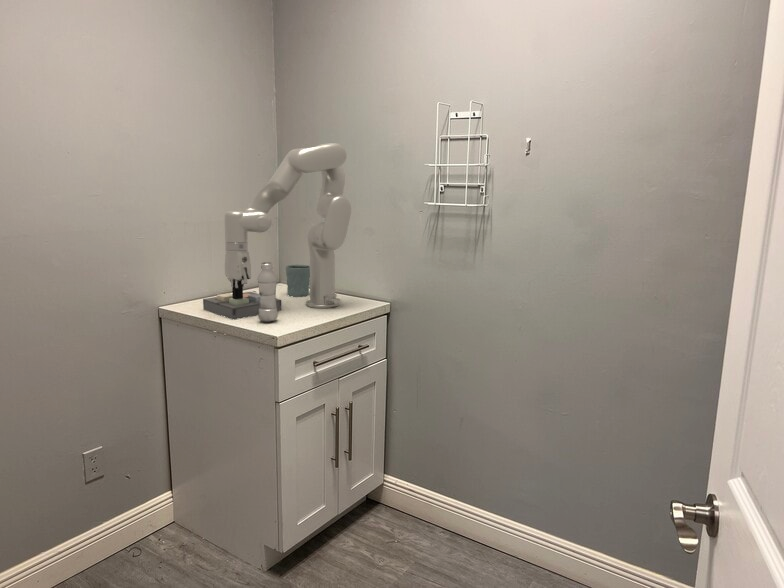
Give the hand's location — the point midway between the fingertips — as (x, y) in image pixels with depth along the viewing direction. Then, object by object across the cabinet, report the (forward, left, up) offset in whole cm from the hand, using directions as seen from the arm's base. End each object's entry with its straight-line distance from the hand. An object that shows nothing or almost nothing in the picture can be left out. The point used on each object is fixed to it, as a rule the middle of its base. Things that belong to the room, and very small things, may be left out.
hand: (237, 298), depth 206 cm
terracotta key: (+8, -8, -4) cm, 12 cm away
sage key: (0, 0, -3) cm, 3 cm away
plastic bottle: (-16, -1, -6) cm, 17 cm away
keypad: (+4, -4, -6) cm, 8 cm away
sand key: (+8, 0, -3) cm, 8 cm away
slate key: (0, -8, -3) cm, 9 cm away
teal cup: (+12, -36, -6) cm, 39 cm away
